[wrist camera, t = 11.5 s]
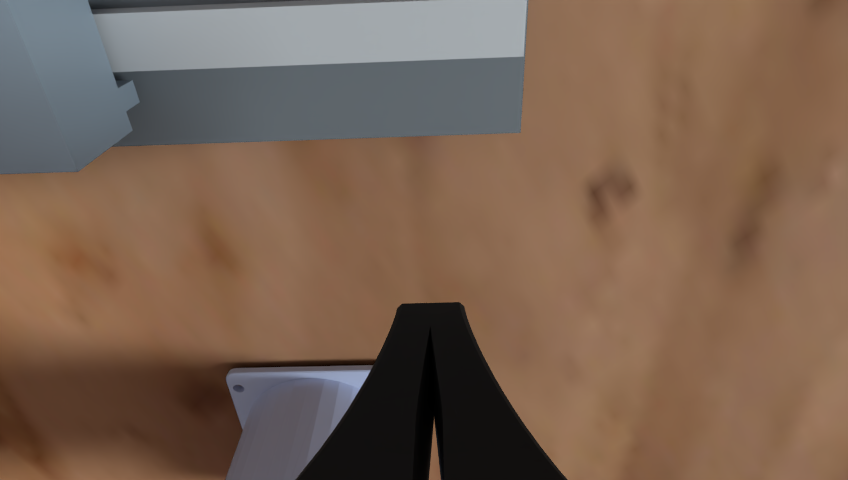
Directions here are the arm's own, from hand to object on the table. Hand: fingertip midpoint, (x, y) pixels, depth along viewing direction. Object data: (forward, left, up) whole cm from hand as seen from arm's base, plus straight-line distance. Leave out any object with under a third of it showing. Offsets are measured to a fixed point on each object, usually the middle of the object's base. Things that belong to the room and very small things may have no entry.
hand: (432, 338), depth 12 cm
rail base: (+5, +7, -9) cm, 13 cm away
